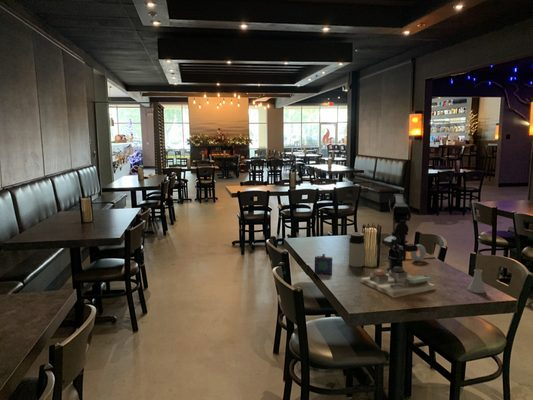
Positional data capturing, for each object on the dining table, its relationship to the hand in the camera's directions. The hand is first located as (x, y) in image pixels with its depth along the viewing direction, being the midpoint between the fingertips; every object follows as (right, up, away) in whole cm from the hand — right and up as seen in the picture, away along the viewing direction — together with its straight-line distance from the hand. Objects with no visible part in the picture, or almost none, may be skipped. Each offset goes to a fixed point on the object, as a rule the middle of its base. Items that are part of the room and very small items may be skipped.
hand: (398, 261), depth 208 cm
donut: (+22, -5, +34) cm, 41 cm away
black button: (0, -6, +1) cm, 6 cm away
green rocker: (+5, -7, -10) cm, 13 cm away
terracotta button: (-11, -6, -4) cm, 13 cm away
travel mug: (-15, -6, +26) cm, 31 cm away
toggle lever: (-6, -9, -15) cm, 18 cm away
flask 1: (-36, -8, +11) cm, 39 cm away
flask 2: (+32, -12, -14) cm, 37 cm away
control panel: (-3, -11, -7) cm, 13 cm away
